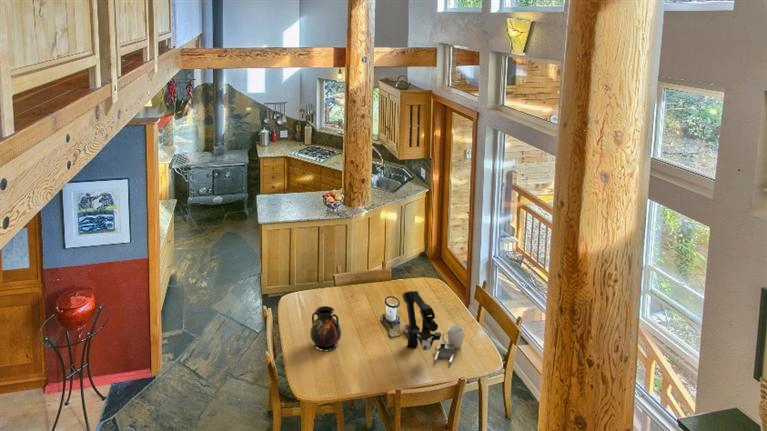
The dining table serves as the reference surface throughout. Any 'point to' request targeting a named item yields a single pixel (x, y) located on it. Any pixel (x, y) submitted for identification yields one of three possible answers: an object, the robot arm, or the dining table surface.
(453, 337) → the mug
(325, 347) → the amphora vase
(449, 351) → the u-shaped channel
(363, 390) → the dining table surface
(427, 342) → the light bulb
